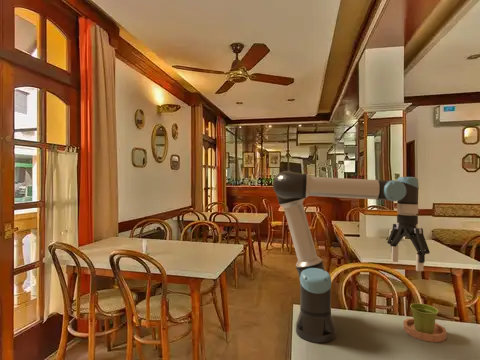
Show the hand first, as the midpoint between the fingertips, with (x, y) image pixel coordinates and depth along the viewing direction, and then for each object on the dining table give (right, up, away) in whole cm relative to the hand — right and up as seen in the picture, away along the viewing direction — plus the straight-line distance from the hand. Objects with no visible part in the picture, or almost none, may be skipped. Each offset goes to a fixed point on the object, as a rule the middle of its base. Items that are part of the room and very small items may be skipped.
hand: (406, 266), depth 121 cm
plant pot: (+3, -23, -7) cm, 25 cm away
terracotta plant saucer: (+3, -24, -6) cm, 25 cm away
